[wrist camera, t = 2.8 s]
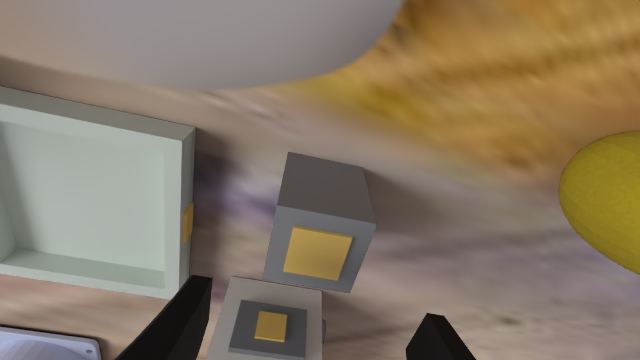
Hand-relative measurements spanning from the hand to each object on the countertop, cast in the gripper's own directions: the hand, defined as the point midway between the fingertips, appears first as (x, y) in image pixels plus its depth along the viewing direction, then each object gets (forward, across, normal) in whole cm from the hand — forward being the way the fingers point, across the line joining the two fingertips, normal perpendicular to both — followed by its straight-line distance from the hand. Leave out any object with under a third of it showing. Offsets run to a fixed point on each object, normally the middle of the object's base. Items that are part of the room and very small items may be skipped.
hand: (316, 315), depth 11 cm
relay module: (+8, 0, 0) cm, 8 cm away
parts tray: (+8, +12, +3) cm, 15 cm away
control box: (+8, +1, +12) cm, 15 cm away
